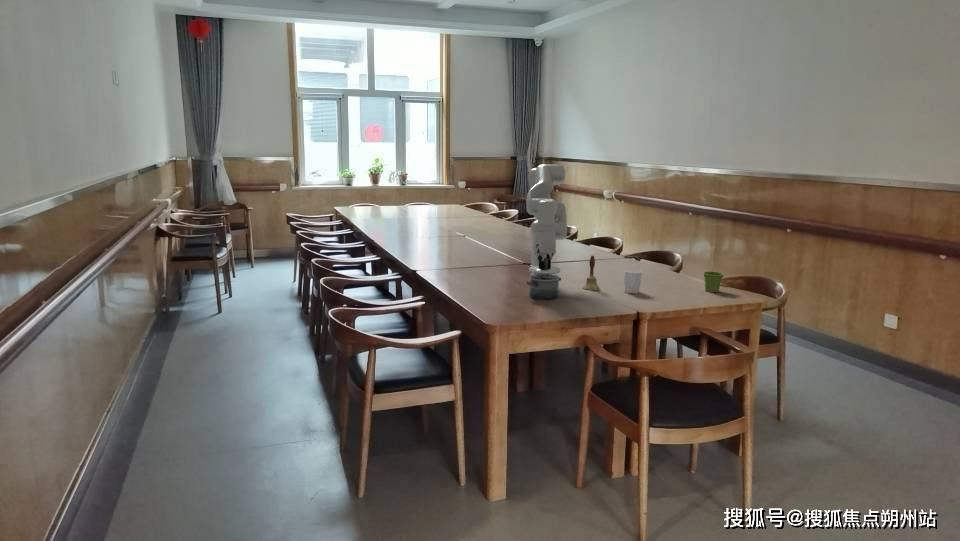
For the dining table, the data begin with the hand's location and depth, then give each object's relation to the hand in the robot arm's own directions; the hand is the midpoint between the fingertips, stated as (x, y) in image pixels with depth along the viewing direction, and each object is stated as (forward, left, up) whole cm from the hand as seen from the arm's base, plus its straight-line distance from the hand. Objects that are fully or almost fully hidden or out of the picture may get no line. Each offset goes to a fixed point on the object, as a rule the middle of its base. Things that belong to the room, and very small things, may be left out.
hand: (544, 268), depth 290 cm
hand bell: (-30, +3, -13) cm, 33 cm away
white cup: (-39, +20, -13) cm, 46 cm away
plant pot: (-71, +43, -13) cm, 84 cm away
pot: (0, 0, -13) cm, 13 cm away
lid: (0, 0, -1) cm, 1 cm away
